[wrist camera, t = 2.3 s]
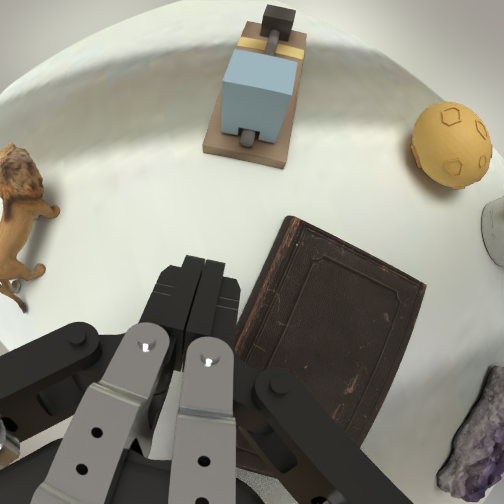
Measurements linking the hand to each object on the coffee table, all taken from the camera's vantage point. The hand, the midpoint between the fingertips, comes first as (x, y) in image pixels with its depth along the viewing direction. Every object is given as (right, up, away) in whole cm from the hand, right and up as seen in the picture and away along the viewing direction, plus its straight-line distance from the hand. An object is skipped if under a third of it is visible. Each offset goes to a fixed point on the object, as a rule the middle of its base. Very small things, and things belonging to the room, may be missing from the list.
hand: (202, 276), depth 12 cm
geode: (+33, -23, +15) cm, 43 cm away
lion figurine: (-21, +2, +14) cm, 25 cm away
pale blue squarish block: (+2, +14, +16) cm, 21 cm away
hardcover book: (+7, -10, +15) cm, 19 cm away
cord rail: (+3, +20, +19) cm, 28 cm away
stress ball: (+24, +12, +20) cm, 33 cm away
